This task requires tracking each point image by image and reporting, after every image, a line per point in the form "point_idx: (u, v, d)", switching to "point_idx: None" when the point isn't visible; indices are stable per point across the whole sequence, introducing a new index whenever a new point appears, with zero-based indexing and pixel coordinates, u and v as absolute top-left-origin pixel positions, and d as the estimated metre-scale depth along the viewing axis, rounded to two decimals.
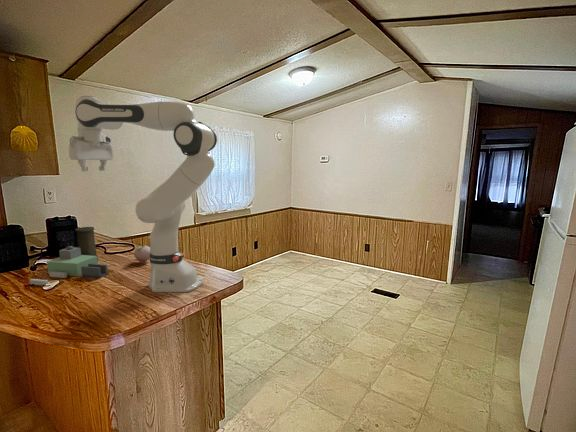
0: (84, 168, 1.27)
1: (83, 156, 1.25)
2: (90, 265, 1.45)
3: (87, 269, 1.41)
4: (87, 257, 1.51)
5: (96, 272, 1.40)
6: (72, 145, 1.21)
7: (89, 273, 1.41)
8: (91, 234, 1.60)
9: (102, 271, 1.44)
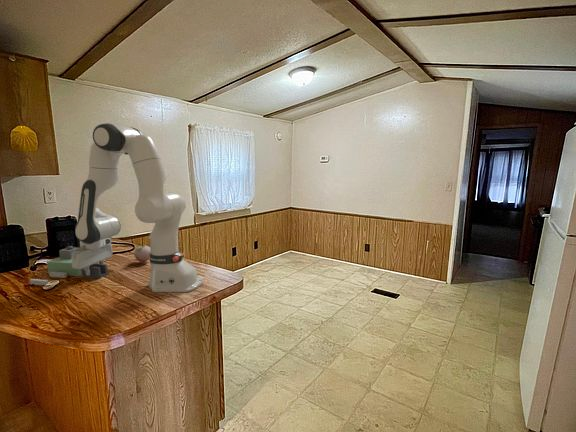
0: (88, 272, 1.39)
1: (85, 264, 1.36)
2: (90, 265, 1.45)
3: None
4: None
5: (96, 272, 1.40)
6: (75, 257, 1.32)
7: None
8: None
9: (102, 271, 1.44)
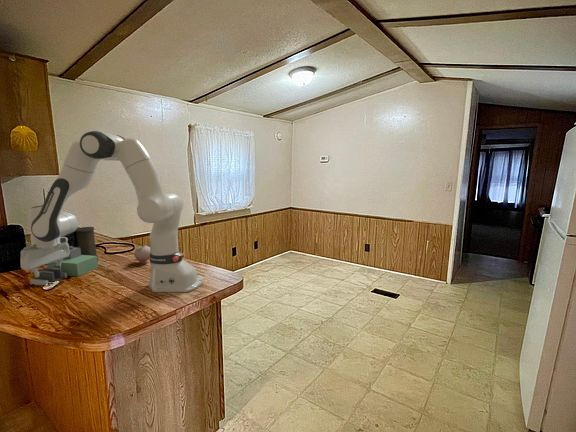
0: (37, 274, 1.31)
1: (36, 264, 1.29)
2: (45, 269, 1.39)
3: None
4: (87, 257, 1.51)
5: (50, 277, 1.34)
6: (23, 257, 1.25)
7: (42, 278, 1.35)
8: (91, 234, 1.60)
9: (57, 275, 1.38)
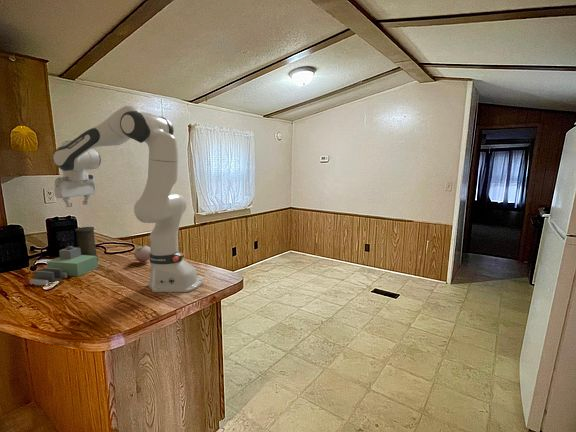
0: (68, 204, 1.43)
1: (68, 194, 1.41)
2: (45, 269, 1.39)
3: (40, 274, 1.35)
4: (87, 257, 1.51)
5: (50, 277, 1.34)
6: (57, 185, 1.37)
7: (42, 278, 1.35)
8: (91, 234, 1.60)
9: (57, 276, 1.38)
